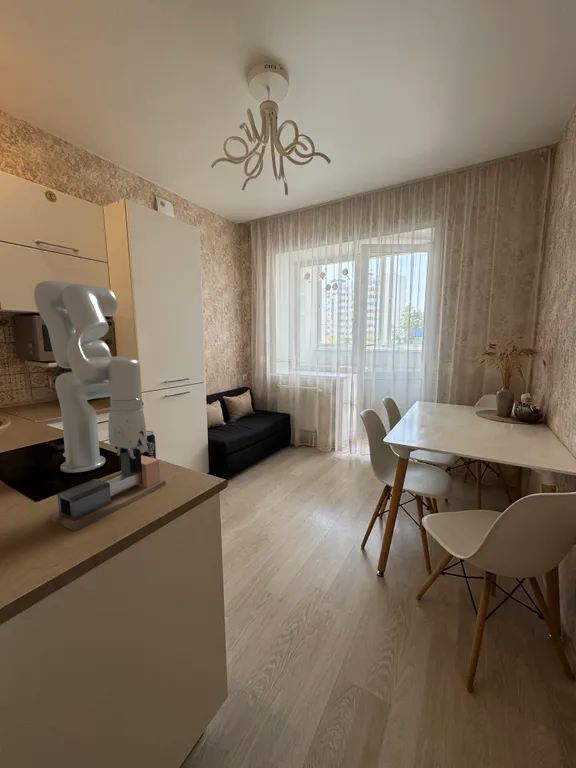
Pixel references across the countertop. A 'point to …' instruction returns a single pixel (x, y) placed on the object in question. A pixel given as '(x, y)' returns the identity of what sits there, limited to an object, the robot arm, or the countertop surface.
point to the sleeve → (84, 499)
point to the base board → (108, 506)
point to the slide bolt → (124, 476)
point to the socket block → (149, 471)
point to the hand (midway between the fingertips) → (130, 469)
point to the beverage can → (150, 445)
